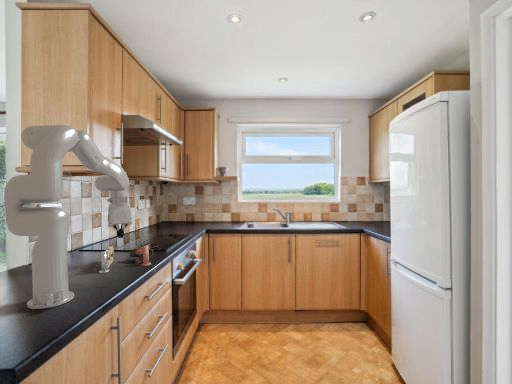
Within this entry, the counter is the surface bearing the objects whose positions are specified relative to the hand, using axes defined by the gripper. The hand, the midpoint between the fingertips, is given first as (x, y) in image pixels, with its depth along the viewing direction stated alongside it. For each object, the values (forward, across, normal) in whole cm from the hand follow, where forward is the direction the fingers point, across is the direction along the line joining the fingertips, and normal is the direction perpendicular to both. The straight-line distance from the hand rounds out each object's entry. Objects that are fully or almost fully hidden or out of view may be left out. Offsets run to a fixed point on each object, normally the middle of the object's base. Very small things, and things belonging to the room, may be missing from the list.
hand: (120, 237), depth 135 cm
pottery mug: (+14, +10, -1) cm, 17 cm away
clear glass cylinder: (+13, -10, -8) cm, 18 cm away
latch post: (+13, +8, -10) cm, 19 cm away
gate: (+13, -5, +2) cm, 14 cm away
